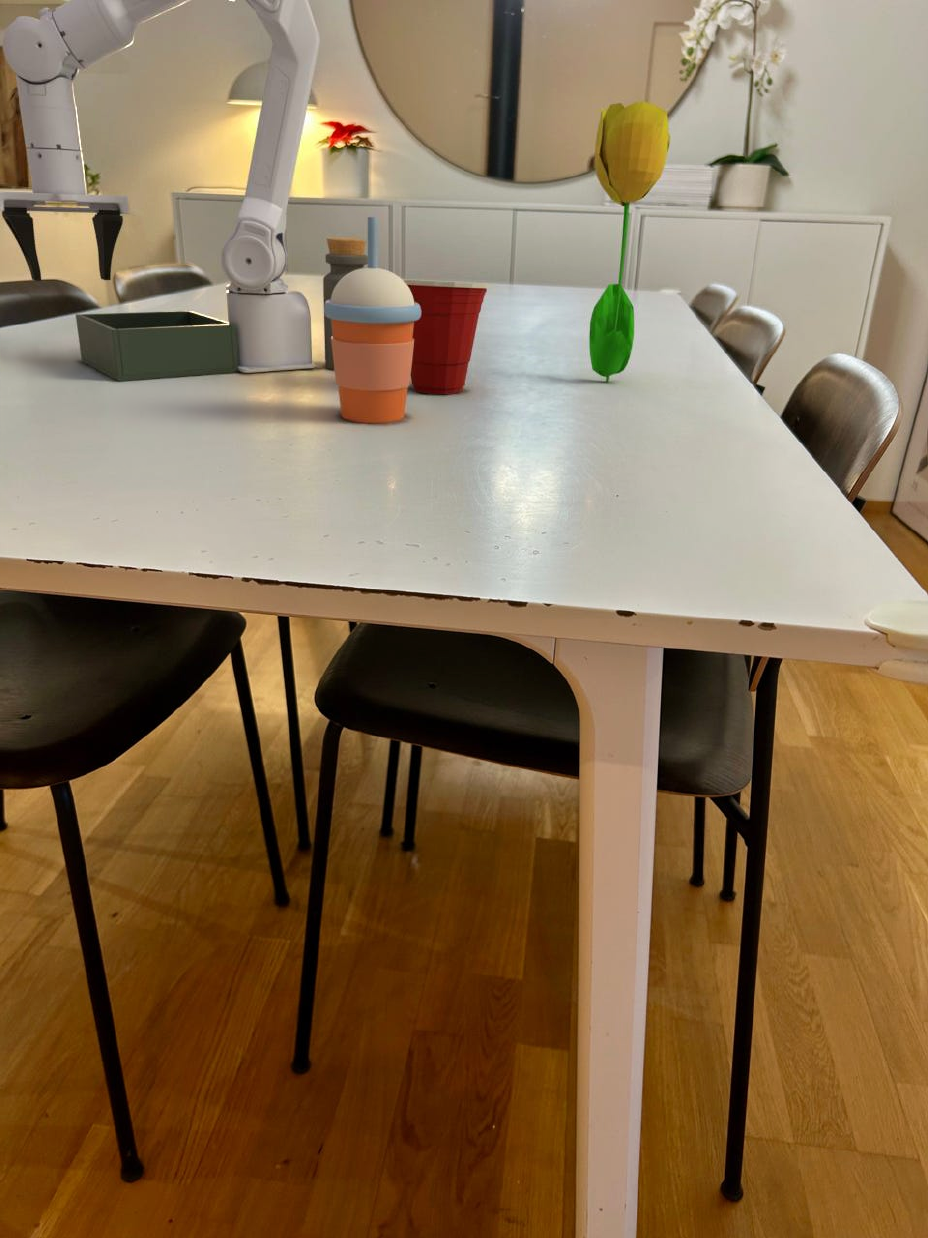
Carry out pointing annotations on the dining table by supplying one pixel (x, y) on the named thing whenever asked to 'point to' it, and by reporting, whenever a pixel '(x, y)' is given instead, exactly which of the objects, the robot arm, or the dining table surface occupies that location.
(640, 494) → the dining table surface
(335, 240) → the bottle
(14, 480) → the dining table surface
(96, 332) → the bin
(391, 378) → the cup with straw
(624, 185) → the flower
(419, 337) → the plastic cup
